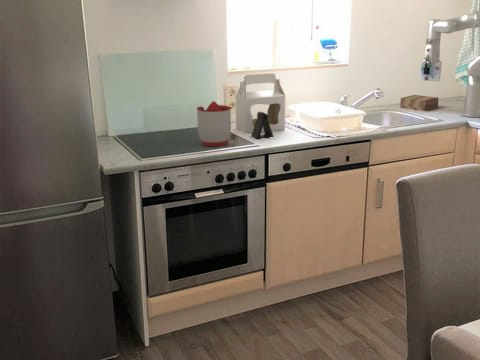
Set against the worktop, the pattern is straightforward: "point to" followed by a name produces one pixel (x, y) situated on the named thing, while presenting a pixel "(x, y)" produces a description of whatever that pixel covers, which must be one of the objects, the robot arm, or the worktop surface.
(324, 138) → the worktop surface
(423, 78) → the light bulb box
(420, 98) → the walnut stand
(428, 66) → the robot arm
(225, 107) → the citrus juicer
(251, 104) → the gable box
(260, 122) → the black a-shaped stand
